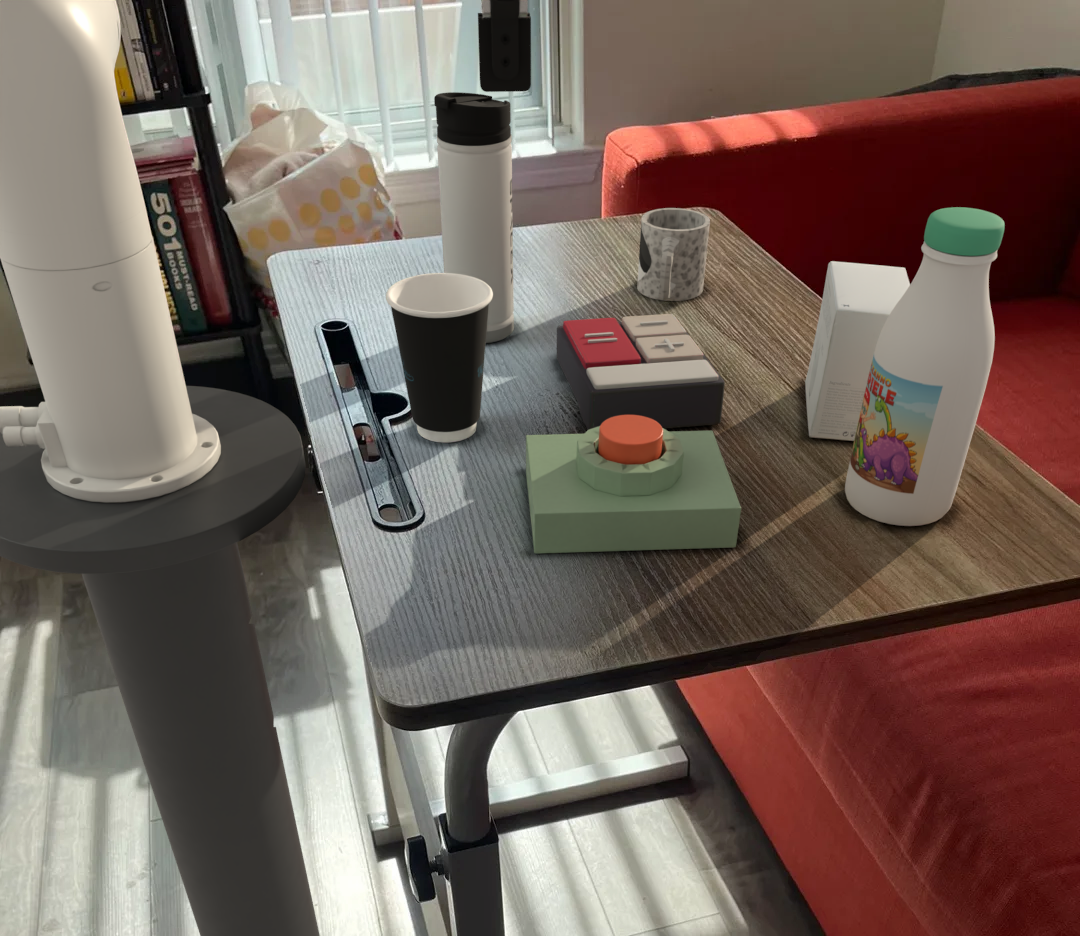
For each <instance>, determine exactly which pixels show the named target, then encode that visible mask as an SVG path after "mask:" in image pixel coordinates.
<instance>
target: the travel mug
mask: <svg viewBox="0 0 1080 936" xmlns="http://www.w3.org/2000/svg"><path fill="white" fill-rule="evenodd" d="M433 100H434V101H433V102H434V106H435V117H436V118H435V119H436V124H437V126H436V144H437V145H436V146H437V148H436V149H437V168H438V186H439V203H440V205H439V207H440V219H441V220H440V223H441V241H442V261H443V273H453V274H461V275H467V276H471V277H474V278H477V279H480V280H482V281H483V282H485V283H486V284H488V285H489V286H490V288H491V289H492V292H493V297H492V300H491V301H490V303H489V308H488V321H487V333H486V344H491V343H496V342H499V341H502V340H504V339H507V338H508V337H509V336H511V334H512V333H513V332H514V330H515V322H514V321H515V320H514V319H515V318H514V317H515V316H514V310H515V309H514V307H515V306H514V305H515V304H514V302H515V301H514V233H513V232H514V231H513V230H514V229H513V228H514V227H513V226H514V225H513V221H514V220H513V154H512V153H513V151H512V149H513V147H512V146H513V145H512V139H513V138H512V137H513V135H512V127H511V122H512V121H511V120H512V119H511V118H512V117H511V116H512V115H511V114H512V113H511V101H508V100H504V101H502V100H498V99H493V96H492V95H487V94H483V93H473V92H458V91H457V92H456V91H454V92H451V91H450V92H441V93H437V94H435V96H434V98H433Z"/></svg>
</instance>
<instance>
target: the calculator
mask: <svg viewBox="0 0 1080 936" xmlns="http://www.w3.org/2000/svg"><path fill="white" fill-rule="evenodd" d="M556 360H557V362H558V364H559V366H560V368H561V370H562V372H563V374H564V376H565V378H566V381H567V383H568V385H569V387H570V389H571V391H572V393H573V395H574V397H575V398H576V401H577V404H578V409H579V413H580V414H579V415H580V417H581V419H582V421H583V423H584V425H585V428H586V429H587V431H588V430H589V429H592V428H595V427H599V426H600V425H601V424H602V423H603V422H604V421H605V420H607V419H609V418H611V417H614V416H619V415H639V416H644V417H648V418H651V419H653V420H655V421H656V422H658V423H659V424H660V425H661V426H662V428H664V429H665V430H666V429H677V428H689V427H690V428H691V427H702V426H703V427H704V426H714V425H715V426H716V425H720V423H722V416H723V415H722V414H723V405H724V396H725V395H724V394H725V385H726V382H725V380H724V379H723V377H722V376H721V375H720V373H719V372H718V370H717V369H716V368H715V367H714V365H713V364H712V363H711V362H710V360H709V358H707V356H706V355H705V354H704V352H703V351H702V350H701V348H700V347H699V346H698V345H697V343H696V342H695V341H694V339H693V338H692V337H691V335H690V334H689V332H688V331H687V330H686V329H685V327H684V326H683V324H682V323H681V322H680V321H679V320H678V318H677V316H675V314H673V313H663V314H661V313H660V314H647V315H631V316H623V317H622V318H621V321H619V320H617V318H616V317H602V318H600V317H599V318H584V319H583V318H582V319H570V320H568V319H567V320H563V322H562V325H558V326H557V327H556Z"/></svg>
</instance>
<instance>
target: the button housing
mask: <svg viewBox="0 0 1080 936" xmlns="http://www.w3.org/2000/svg"><path fill="white" fill-rule="evenodd" d="M599 428H600V426H599V427H595V428H592V429H589V430H588V429H587V431H585V432H584V433H560V434H559V433H558V434H556V433H555V434H553V433H552V434H526V435H525V477H526V485H527V486H526V487H527V495H528V505H529V517H530V525H531V535H532V536H531V537H532V545H533V553H534V554H535V555H536V554H559V553H560V554H563V553H568V554H569V553H599V552H630V551H632V552H633V551H661V550H662V551H663V550H664V551H665V550H666V551H667V550H689V549H690V550H696V549H697V550H698V549H699V550H701V549H726V548H727V549H728V548H729V549H730V548H736V547H737V540H738V533H739V527H740V519H741V515H742V514H741V513H742V506H741V504H740V501H739V498H738V495H737V493H736V490H735V486H734V485H733V482H732V479H731V477H730V474H729V471H728V468H727V466H726V463H725V460H724V457H723V454H722V453H721V449H720V447H719V444H718V441H717V439H716V436H715V433H714V431H713V429H712V430H679V431H678V430H677V431H675V430H674V431H672V430H671V431H668V430H667V429H666V428H665V429H664V428H662V429H663V439H662V451H661V456H660V457H659V459H657V460H654V461H651V462H649V463H646V464H631V465H625V464H621V463H617V462H613V461H609V460H606V459H604V458H603V457H601V456H600V454H599V452H598V446H599Z"/></svg>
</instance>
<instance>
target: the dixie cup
mask: <svg viewBox="0 0 1080 936" xmlns="http://www.w3.org/2000/svg"><path fill="white" fill-rule="evenodd" d="M492 297H493V292H492V289H491V288H490V286H489V285H488V284H486V283H485V282H483V281H482V280H480V279H477V278H474V277H471V276H467V275H461V274H453V273H444V272H433V273H422V274H417V275H411V276H410V277H406V278H403V279H400V280H398V281H396V282H394V283H393V284H392V285H391V286H390V287H389V288H387V291H386V293H385V300H386V302H387V304H388V305H389V306H390V309H391V315H392V320H393V324H394V329H395V335H396V340H397V345H398V349H399V350H398V351H399V354H400V361H401V365H402V371H403V376H404V381H405V387H406V391H407V397H408V402H409V407H410V413H411V418H412V421H413V422H414V424H415V426H416V430H417V433H418V434H419V435H420V436H421V437H422V438H424V439H425V440H428V441H430V442H435V443H455V442H460V441H463V440H466V439H469V438H470V437H472V436H473V435H474V434H475V433H476V431H477V425H478V424H477V423H478V421H479V420H480V418H481V407H482V395H483V381H484V369H485V357H486V344H487V343H486V333H487V321H488V308H489V303H490V301H491V300H492Z"/></svg>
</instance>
